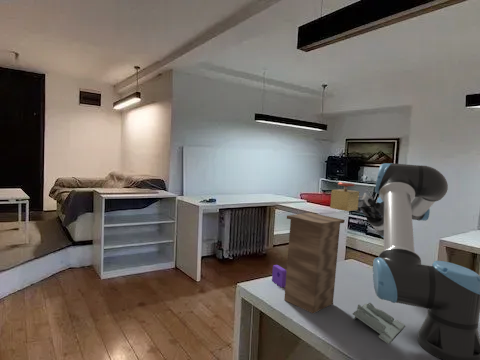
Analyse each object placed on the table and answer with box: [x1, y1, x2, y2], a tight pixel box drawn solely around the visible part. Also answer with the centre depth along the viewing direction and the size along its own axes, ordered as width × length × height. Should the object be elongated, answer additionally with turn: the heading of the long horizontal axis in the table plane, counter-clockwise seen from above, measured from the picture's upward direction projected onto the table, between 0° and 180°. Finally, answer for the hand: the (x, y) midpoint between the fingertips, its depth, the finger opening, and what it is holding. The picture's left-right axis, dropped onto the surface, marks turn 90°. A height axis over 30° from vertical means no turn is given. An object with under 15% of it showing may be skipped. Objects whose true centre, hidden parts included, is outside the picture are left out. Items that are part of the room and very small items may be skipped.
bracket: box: [271, 264, 287, 288], centre depth 131 cm, size 12×7×7 cm, turn 117°
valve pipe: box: [330, 182, 374, 212], centre depth 129 cm, size 24×7×10 cm, turn 133°
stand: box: [283, 212, 345, 314], centre depth 113 cm, size 14×14×30 cm
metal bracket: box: [352, 302, 406, 345], centre depth 100 cm, size 14×6×15 cm
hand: (358, 195), depth 131 cm, fingers closed on valve pipe, 4 cm apart
